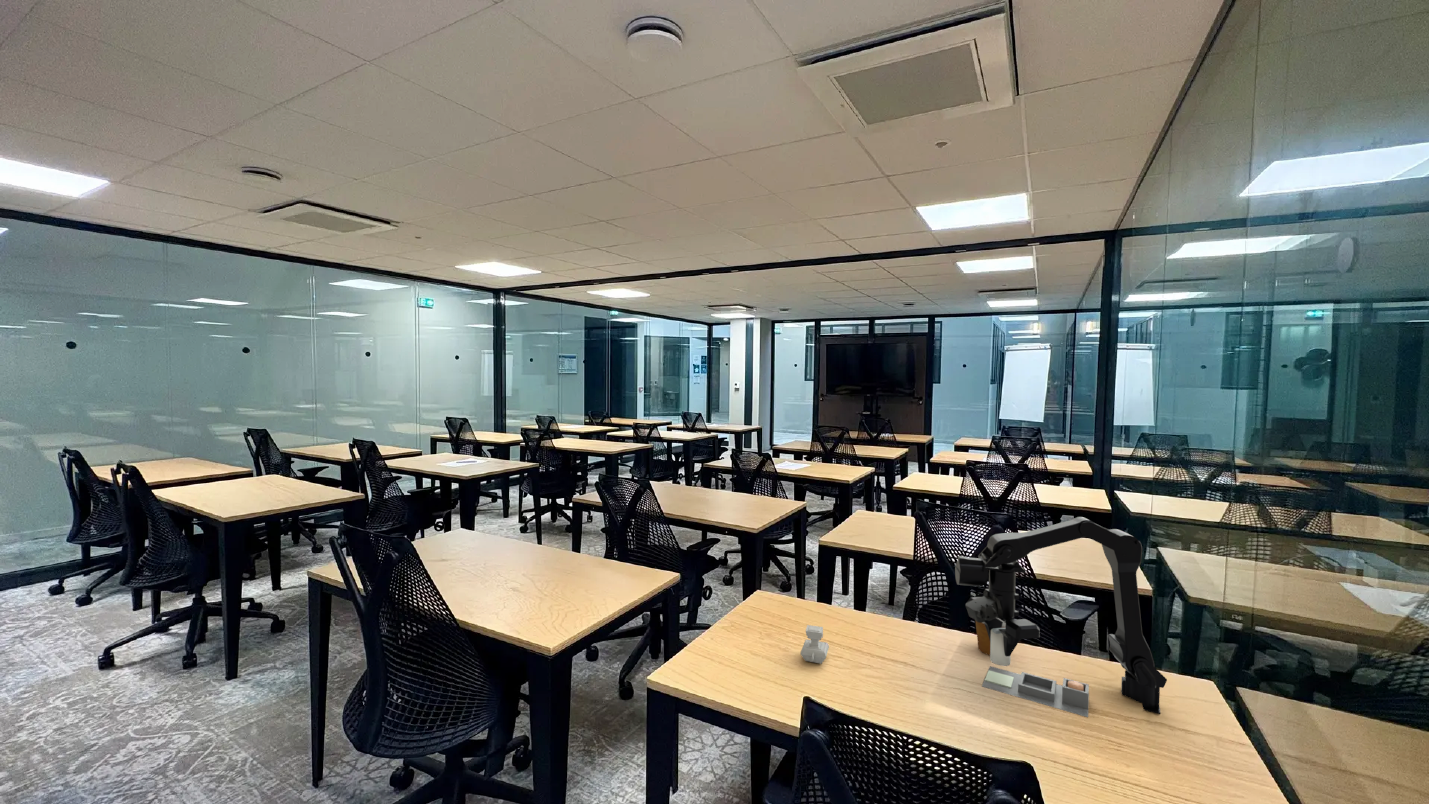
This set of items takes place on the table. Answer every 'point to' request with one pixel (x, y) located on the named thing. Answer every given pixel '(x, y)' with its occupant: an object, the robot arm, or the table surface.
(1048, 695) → the housing
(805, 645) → the stamp
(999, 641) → the cartridge
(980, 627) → the disposable coffee cup
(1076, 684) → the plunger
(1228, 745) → the table surface
